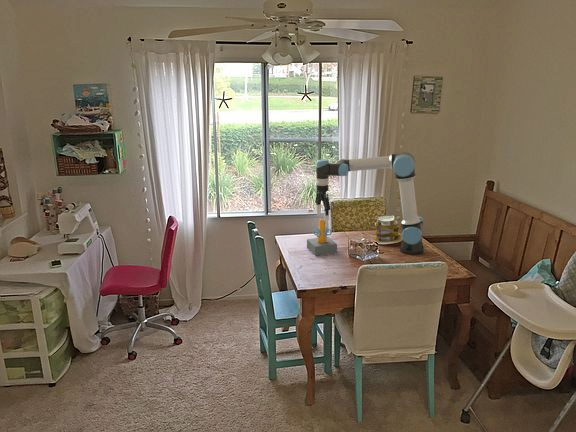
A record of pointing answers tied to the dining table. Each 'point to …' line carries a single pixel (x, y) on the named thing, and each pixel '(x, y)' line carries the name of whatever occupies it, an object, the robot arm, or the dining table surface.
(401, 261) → the dining table surface
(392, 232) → the glass jar
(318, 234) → the orange blue tower
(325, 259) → the dining table surface
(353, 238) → the dining table surface
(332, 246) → the plinth
